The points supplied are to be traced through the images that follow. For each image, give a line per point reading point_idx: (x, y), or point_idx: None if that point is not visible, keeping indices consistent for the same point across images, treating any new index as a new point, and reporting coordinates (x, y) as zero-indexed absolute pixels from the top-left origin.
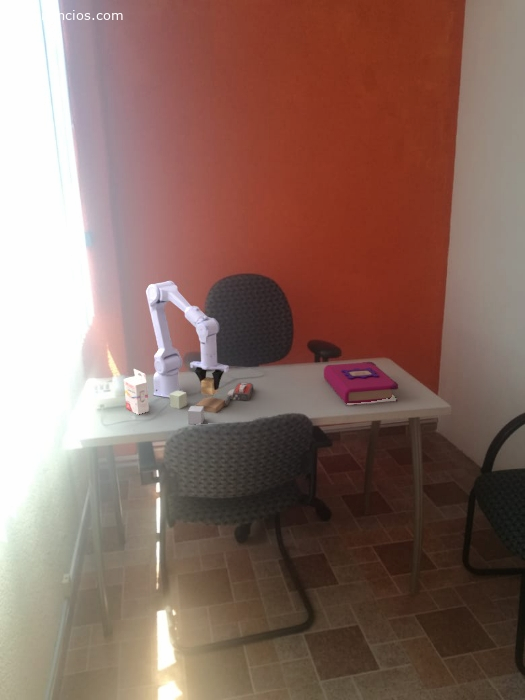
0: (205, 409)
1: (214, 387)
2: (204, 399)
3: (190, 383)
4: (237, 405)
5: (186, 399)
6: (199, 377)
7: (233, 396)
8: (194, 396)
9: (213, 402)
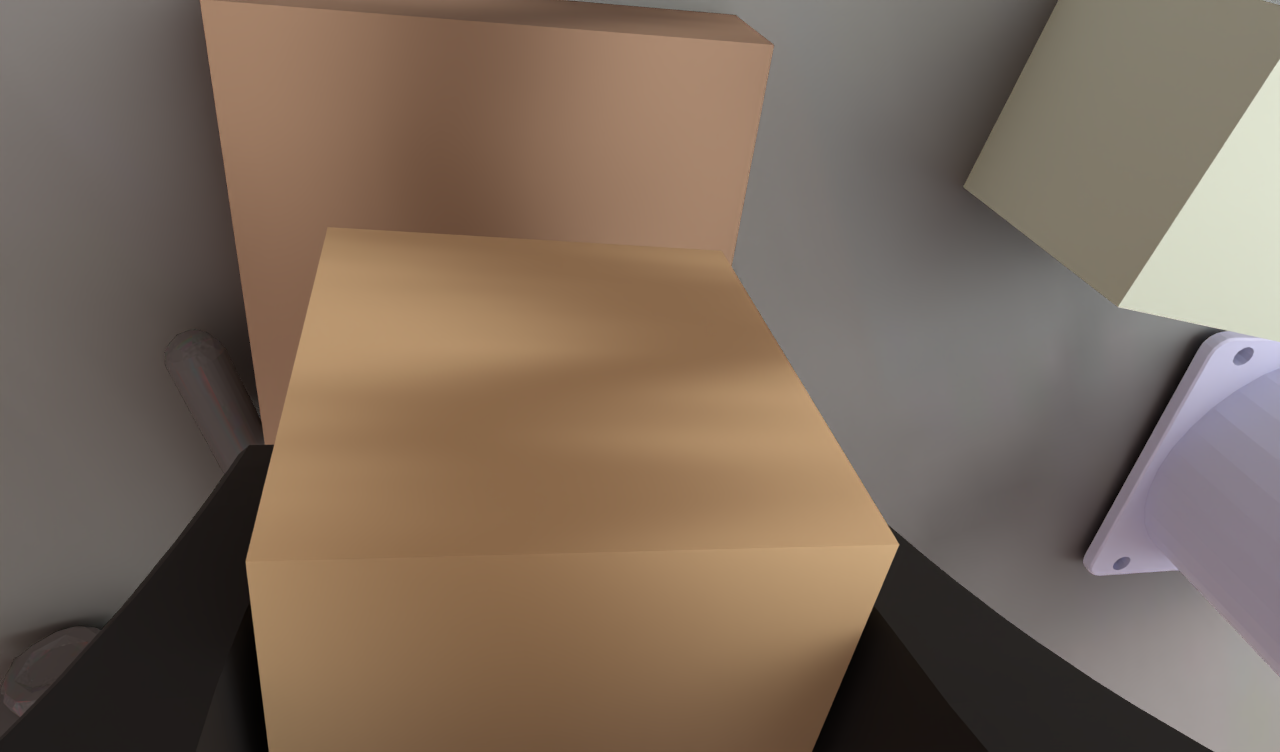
0: (512, 6)
1: None
2: None
3: None
4: (42, 452)
5: (1029, 224)
6: (1054, 703)
7: None
8: (908, 492)
9: None
